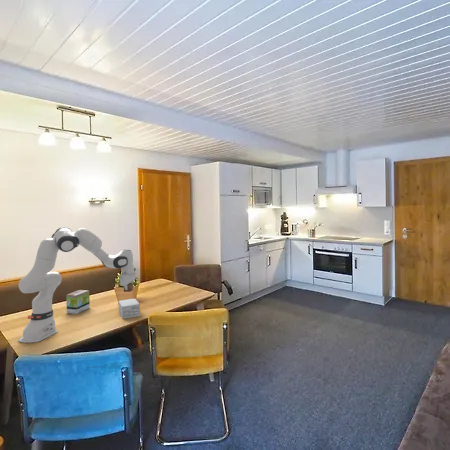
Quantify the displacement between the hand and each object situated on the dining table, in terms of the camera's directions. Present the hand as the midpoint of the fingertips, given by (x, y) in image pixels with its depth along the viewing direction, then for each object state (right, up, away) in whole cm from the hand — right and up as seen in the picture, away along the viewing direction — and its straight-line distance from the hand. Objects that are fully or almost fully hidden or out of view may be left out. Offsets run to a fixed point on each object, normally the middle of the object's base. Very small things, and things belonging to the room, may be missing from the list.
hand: (128, 288), depth 225 cm
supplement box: (0, -20, +3) cm, 21 cm away
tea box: (-44, -20, +12) cm, 50 cm away
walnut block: (0, -2, 0) cm, 2 cm away
